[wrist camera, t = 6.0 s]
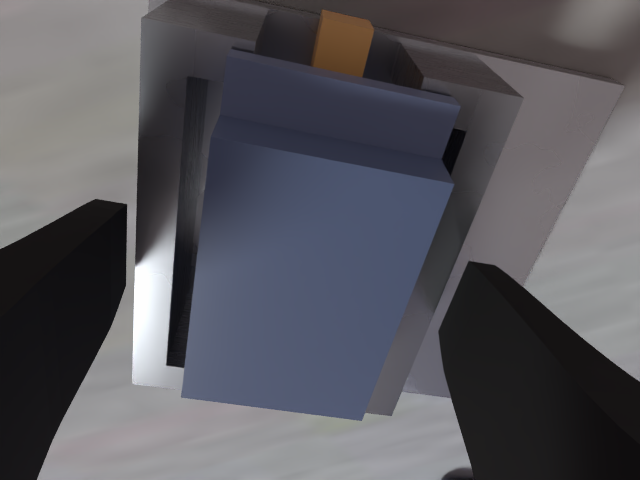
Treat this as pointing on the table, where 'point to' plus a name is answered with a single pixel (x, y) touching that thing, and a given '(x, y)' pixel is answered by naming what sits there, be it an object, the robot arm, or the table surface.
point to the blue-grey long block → (312, 226)
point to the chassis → (459, 159)
